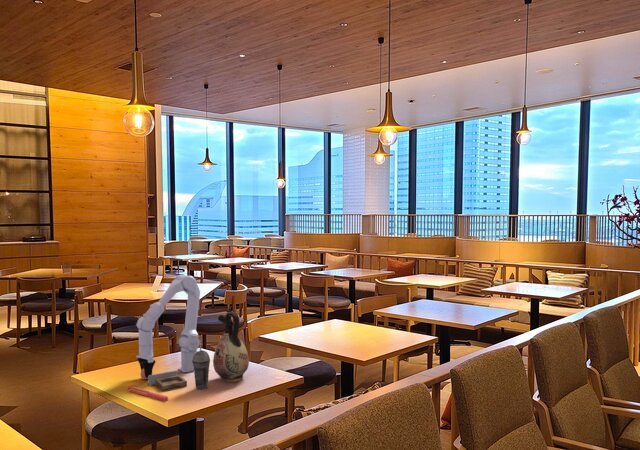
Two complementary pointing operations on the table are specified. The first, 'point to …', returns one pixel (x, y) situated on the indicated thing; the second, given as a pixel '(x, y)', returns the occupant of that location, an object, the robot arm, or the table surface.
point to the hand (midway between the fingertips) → (146, 375)
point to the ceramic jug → (230, 351)
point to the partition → (160, 377)
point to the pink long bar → (147, 393)
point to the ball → (143, 374)
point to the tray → (171, 383)
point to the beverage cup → (201, 369)
